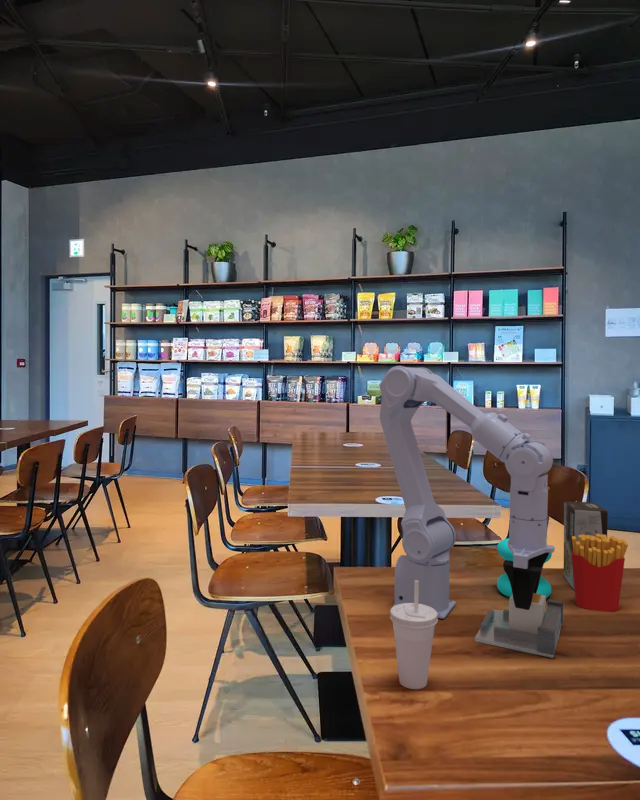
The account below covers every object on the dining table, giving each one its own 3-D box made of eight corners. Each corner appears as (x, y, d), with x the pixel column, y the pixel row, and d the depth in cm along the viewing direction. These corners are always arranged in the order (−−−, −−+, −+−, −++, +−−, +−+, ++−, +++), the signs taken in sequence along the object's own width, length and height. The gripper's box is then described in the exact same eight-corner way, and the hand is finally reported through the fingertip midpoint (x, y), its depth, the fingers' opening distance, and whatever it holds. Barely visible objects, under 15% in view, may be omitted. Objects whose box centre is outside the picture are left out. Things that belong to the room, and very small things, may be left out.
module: (508, 633, 91) (509, 597, 91) (513, 622, 95) (514, 588, 95) (541, 639, 88) (542, 603, 88) (545, 629, 92) (545, 594, 92)
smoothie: (407, 699, 72) (409, 591, 72) (380, 676, 78) (381, 576, 78) (447, 687, 75) (448, 583, 75) (417, 666, 81) (418, 569, 81)
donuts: (560, 550, 104) (505, 549, 105) (559, 604, 105) (504, 603, 105) (541, 536, 114) (491, 535, 115) (540, 585, 115) (490, 584, 115)
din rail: (474, 641, 89) (474, 616, 89) (492, 611, 101) (492, 589, 101) (554, 659, 83) (554, 632, 83) (563, 625, 95) (563, 601, 95)
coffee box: (607, 592, 111) (609, 510, 110) (572, 590, 112) (573, 509, 111) (594, 577, 119) (596, 501, 119) (562, 575, 121) (563, 500, 120)
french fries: (572, 607, 103) (573, 536, 103) (569, 599, 107) (570, 531, 107) (628, 613, 100) (629, 541, 100) (623, 604, 104) (624, 535, 104)
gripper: (549, 530, 83) (547, 621, 83) (559, 511, 96) (557, 590, 96) (499, 523, 86) (498, 611, 87) (516, 506, 99) (514, 582, 99)
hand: (526, 600), depth 91 cm, fingers open, 7 cm apart
